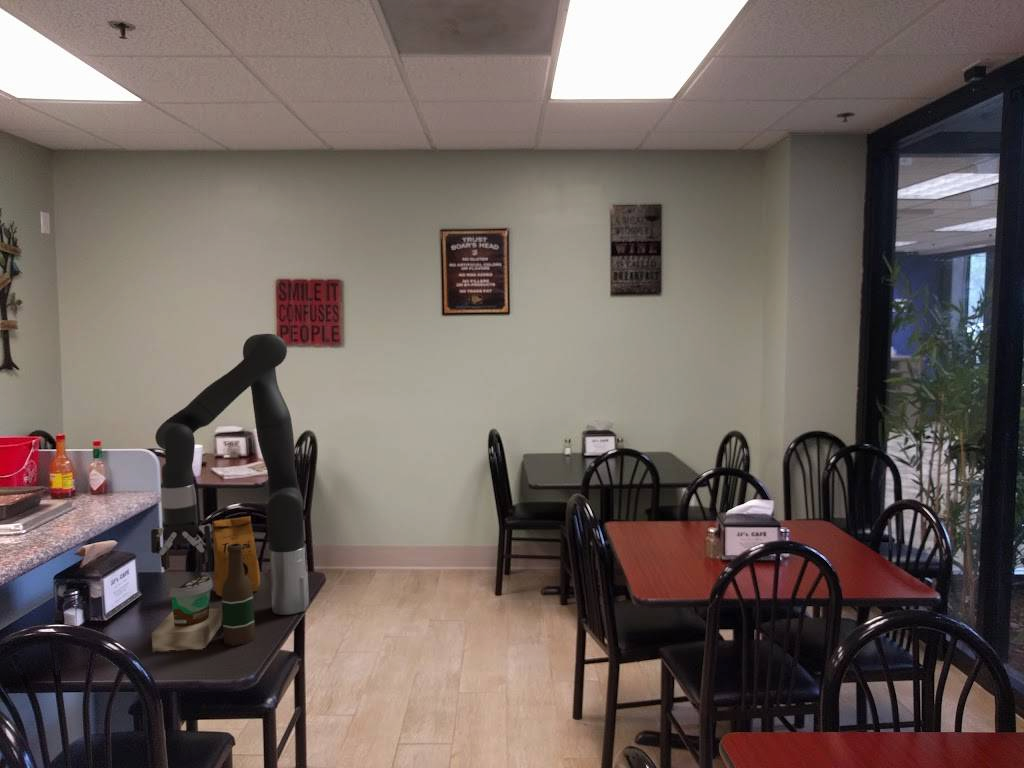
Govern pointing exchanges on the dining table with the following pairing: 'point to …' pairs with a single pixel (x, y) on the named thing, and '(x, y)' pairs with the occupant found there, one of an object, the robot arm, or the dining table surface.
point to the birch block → (185, 633)
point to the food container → (192, 601)
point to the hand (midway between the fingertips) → (184, 567)
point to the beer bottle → (237, 601)
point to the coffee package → (224, 536)
